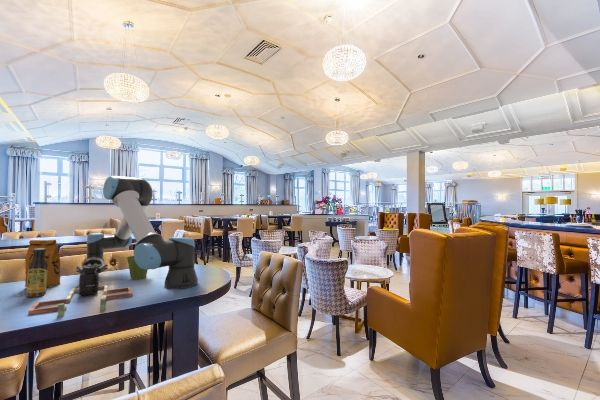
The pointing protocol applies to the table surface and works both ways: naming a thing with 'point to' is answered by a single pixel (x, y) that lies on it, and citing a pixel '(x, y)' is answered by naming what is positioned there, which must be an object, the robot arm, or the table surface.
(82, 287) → the supplement bottle
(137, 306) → the table surface
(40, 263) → the sauce bottle
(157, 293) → the table surface
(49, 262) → the coffee package
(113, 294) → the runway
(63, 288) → the table surface
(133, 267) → the plant pot
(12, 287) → the table surface
